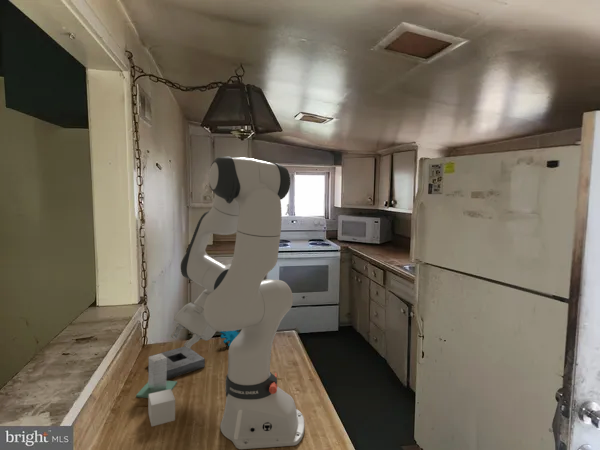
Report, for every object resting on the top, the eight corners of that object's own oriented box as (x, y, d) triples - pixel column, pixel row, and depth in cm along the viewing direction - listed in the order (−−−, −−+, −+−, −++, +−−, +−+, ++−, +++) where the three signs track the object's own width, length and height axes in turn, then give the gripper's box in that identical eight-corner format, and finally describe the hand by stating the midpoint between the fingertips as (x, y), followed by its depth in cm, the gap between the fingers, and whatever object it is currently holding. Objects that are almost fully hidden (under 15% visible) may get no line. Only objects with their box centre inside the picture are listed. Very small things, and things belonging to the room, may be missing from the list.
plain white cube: (151, 427, 94) (151, 405, 93) (148, 414, 99) (148, 393, 99) (175, 420, 97) (175, 399, 96) (170, 408, 102) (171, 388, 102)
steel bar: (161, 383, 114) (161, 353, 113) (166, 388, 111) (166, 357, 110) (148, 387, 111) (148, 356, 110) (153, 393, 108) (153, 361, 107)
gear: (225, 347, 140) (218, 324, 145) (218, 353, 143) (211, 331, 148) (248, 343, 148) (240, 321, 153) (241, 350, 151) (234, 328, 156)
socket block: (186, 353, 137) (186, 345, 137) (204, 366, 127) (204, 358, 127) (149, 364, 127) (149, 356, 127) (166, 379, 117) (166, 371, 117)
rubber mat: (177, 383, 116) (177, 381, 115) (165, 398, 107) (165, 397, 106) (149, 381, 116) (149, 379, 116) (136, 397, 107) (136, 395, 107)
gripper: (186, 294, 126) (159, 328, 120) (217, 308, 112) (187, 347, 106) (197, 304, 130) (171, 337, 124) (228, 319, 115) (201, 357, 109)
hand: (179, 342), depth 115 cm, fingers open, 8 cm apart
